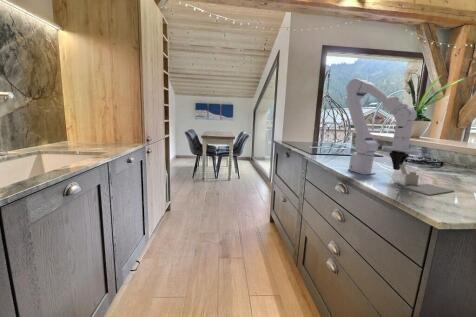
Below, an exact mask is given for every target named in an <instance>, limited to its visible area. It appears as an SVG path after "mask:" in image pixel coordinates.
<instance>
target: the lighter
mask: <svg viewBox="0 0 476 317" xmlns="http://www.w3.org/2000/svg"><path fill="white" fill-rule="evenodd" d="M399 166H400V169H399V170H400V171H401V174H402V175H405V176H404V181H403V184H405V185H409V184H410V185H409V186H413V185H418V183H419V177H420V174H418V173H417V171H412V170H411V171H410V170H409V172H407V169H406V167H405V164H404V163H402V164H399Z"/></svg>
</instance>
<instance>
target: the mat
mask: <svg viewBox="0 0 476 317" xmlns="http://www.w3.org/2000/svg"><path fill="white" fill-rule="evenodd" d="M402 188H403V189H405V190H408V191H412V192H416V193H418V194H422V195H425V196H433V195H434V196H436V195H441V194H446V193H453V192H455V190H454V189H450V188H445V187H442V186H438V185H436V184H435V185H434V184H430V183H422V184H417V185H409V186H408V185H406V186H405V185H404V186H402Z"/></svg>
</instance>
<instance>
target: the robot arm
mask: <svg viewBox="0 0 476 317" xmlns="http://www.w3.org/2000/svg"><path fill="white" fill-rule="evenodd" d="M345 88H346V92H347V94H346V105H347V109H348V111H349V115H350V118H351V122H352V124H353V128H354V132H355V135H356V136H355V138H354V139H353V140H354V150H355V152H353V153H351V155H350V160H349V166H348V168H347V171H350V172H353V173H357V174H360V175H373V174H376V172H374V171H372V169H373V164H374V159H375V158H374V157H375V153H376V152H377V151H378V149H379V143H378V141H377V140H375V138H374V136H373V134H372V133H370V130H369V127H368V124H367V121H366V118H365V115H364V111H363V108H362V105H361V100H362V99H363V98H365V96H366V95H367V94H368V95H370V96H372V97H373V98H375V99H376V100H378V101H379V102H380V103H381V105H382V108H383V109H385V110H386V111H387V112H388V113H389V114H391V115H392V116H393V117H394V120H395V127H394V132H393V133H394V134H393V140H392V145H391V146H390V145H382V146H381V151H385V152H386V151H387V152H389V156H390V158H391V163H392V169H393V170H395V171H399V170H401V169H400V166H399V164H404V162H405V160H406V159H407V158H408V157H409V156H411V155H412V156H415V157H416V156H417V157H418V156H420V155H421V154H420V153H421V150H416V149H412V148H410V147H409V146H410V141H411V136H412V130H413V124H414V121H415V120H416V119H417V117H418V112H417V110H415V108H413V107H409V104H407V103H403V102H402V101H401V100H400V97H399V96H394V95H393V96H389V95H387V94H386V93H385V92H384V91H383V90H381V89H380V88H379V87H378V86H377V85H376V84H375V83H373V82H370V81H369V80H364V79H360V78H357V77H356V78H352V79H350V81H348V83H347V86H346V87H345Z"/></svg>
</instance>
